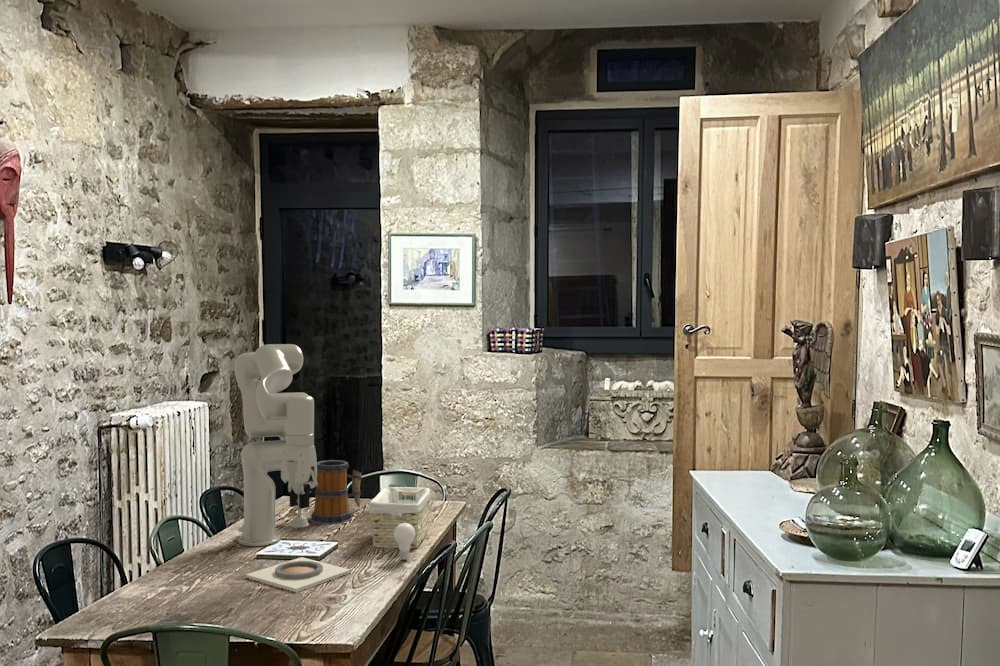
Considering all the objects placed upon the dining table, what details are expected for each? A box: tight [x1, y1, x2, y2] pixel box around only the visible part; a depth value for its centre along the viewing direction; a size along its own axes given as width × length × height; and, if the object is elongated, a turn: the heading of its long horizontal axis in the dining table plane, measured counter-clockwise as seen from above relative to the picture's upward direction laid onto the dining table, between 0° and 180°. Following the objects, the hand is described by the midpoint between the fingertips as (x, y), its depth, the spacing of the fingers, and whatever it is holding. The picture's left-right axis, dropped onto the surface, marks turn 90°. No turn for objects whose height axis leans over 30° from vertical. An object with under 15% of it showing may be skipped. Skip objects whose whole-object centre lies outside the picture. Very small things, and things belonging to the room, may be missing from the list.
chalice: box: [287, 461, 310, 528], centre depth 226 cm, size 7×7×18 cm
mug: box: [310, 459, 362, 525], centre depth 291 cm, size 19×14×20 cm
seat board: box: [245, 556, 352, 593], centre depth 226 cm, size 20×20×2 cm
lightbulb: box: [394, 523, 415, 562], centre depth 242 cm, size 6×6×11 cm
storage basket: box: [369, 486, 432, 550], centre depth 264 cm, size 24×16×15 cm
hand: (299, 506), depth 226 cm, fingers closed on chalice, 3 cm apart
